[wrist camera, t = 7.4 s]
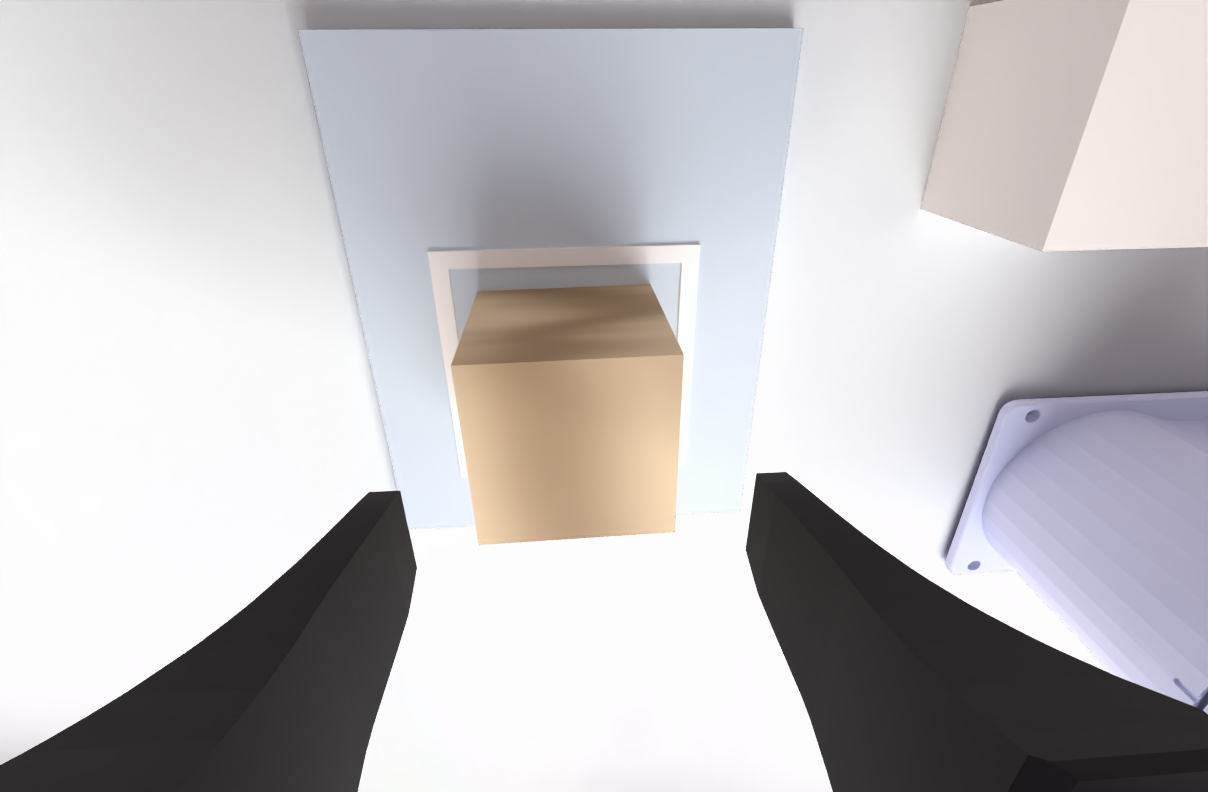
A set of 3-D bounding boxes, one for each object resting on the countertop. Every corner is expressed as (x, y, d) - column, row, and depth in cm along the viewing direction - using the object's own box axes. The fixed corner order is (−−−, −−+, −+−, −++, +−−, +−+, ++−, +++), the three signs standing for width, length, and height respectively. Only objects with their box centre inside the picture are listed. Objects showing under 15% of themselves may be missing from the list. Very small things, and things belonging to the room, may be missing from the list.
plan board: (794, 30, 15) (805, 27, 14) (735, 500, 22) (740, 512, 21) (306, 31, 14) (295, 29, 14) (410, 518, 21) (405, 531, 21)
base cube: (650, 284, 17) (683, 354, 13) (647, 429, 20) (674, 532, 15) (477, 291, 17) (450, 365, 12) (495, 438, 19) (478, 544, 15)
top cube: (1150, 6, 15) (1390, -23, 11) (1078, 204, 18) (1251, 245, 13) (967, 6, 15) (1138, -24, 11) (919, 208, 17) (1042, 251, 13)
